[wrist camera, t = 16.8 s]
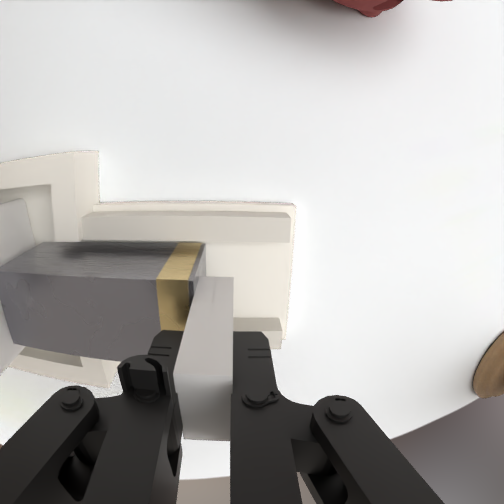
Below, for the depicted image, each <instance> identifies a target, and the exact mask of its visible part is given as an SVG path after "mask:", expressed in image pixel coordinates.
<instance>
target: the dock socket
mask: <svg viewBox="0 0 504 504" xmlns="http://www.w3.org/2000/svg"><path fill="white" fill-rule="evenodd" d="M18 198H20V199H23V200H24V201H25V203H26V208H27V212H28V216H29V221H30V225H31V229H32V233H33V236H34V240H35V244H36V246H37V245H39V244H41V243H43V242H129V243H179V242H183V243H205V244H206V276H208V277H234V293H233V331H261V332H262V333H263V334H264V335H265V336H266V337H267V338H268V339H269V345H270V349H281V343H282V340H285V339H286V329H287V319H288V308H289V297H290V285H291V273H292V261H293V247H294V233H295V218H296V206H295V205H294V204H293V203H268V202H225V201H146V202H105V203H100V195H99V151H73V152H64V153H57V154H50V155H43V156H37V157H30V158H24V159H19V160H13V161H8V162H3V163H0V204H2V203H5V202H8V201H12V200H15V199H18ZM120 363H121V362H119V361H111V360H103V359H95V358H88V357H82V356H75V355H69V354H63V353H57V352H52V351H47V350H41V349H36V348H32V347H27V346H26V347H25V348H24V349H23V350H22V351H21V352H20V353H19V354H18V356H17V357H16V358H15V359H14V360H13V361H12V362H11V364H10V365H9V366H8V367H11V368H15V369H19V370H22V371H26V372H30V373H34V374H38V375H42V376H46V377H51V378H55V379H60V380H64V381H69V382H74V383H80V384H85V385H91V386H97V387H103V388H110V385H111V383H112V381H113V379H114V377H115V375H116V373H117V371H118V370H117V366H118V365H119V364H120Z"/></svg>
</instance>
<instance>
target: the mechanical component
mask: <svg viewBox="0 0 504 504" xmlns="http://www.w3.org/2000/svg"><path fill="white" fill-rule="evenodd" d="M333 1H335V2H337V3H339V4H341V5H344V6H347V7H349V8H353V9H357V10H359V11H360V12H361V13H362V14H363V15H365V16H368V17H376V16H378V15H379V14H380V13H381V12H382V11H386V10H389V9H392V8H394V7H395V6H397V5H398V4H400V3H401V2H402V1H403V0H333ZM434 1H452V0H434Z"/></svg>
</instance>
